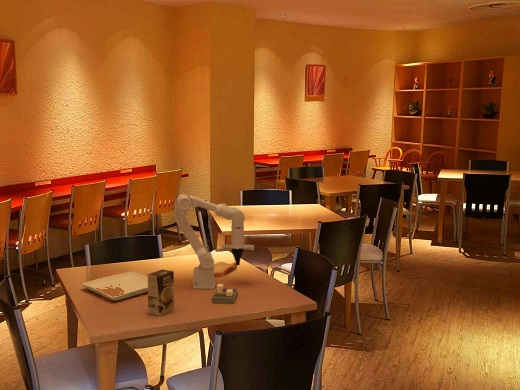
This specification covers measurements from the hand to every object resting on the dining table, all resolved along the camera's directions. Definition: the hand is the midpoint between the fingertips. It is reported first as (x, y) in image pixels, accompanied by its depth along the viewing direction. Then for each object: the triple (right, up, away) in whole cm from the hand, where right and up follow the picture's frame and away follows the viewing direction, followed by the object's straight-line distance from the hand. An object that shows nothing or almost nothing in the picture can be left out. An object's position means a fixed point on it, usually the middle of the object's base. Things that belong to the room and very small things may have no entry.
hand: (237, 264), depth 272 cm
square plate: (-51, -11, -6) cm, 53 cm away
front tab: (-3, -10, -22) cm, 24 cm away
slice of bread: (-8, -6, +24) cm, 26 cm away
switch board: (-5, -12, -18) cm, 22 cm away
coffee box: (-29, -15, -33) cm, 47 cm away
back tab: (-7, -9, -15) cm, 19 cm away
